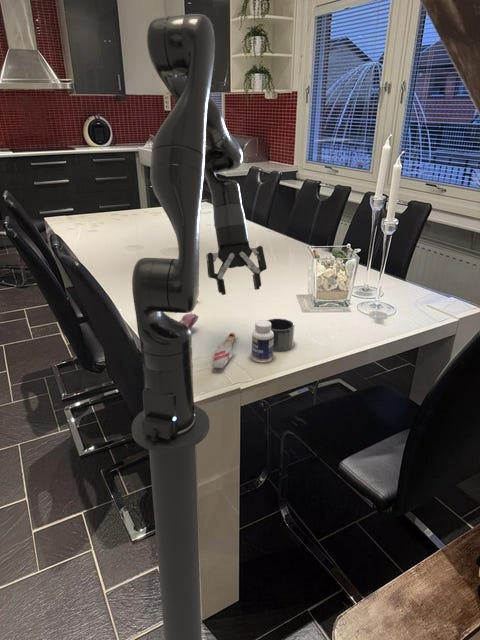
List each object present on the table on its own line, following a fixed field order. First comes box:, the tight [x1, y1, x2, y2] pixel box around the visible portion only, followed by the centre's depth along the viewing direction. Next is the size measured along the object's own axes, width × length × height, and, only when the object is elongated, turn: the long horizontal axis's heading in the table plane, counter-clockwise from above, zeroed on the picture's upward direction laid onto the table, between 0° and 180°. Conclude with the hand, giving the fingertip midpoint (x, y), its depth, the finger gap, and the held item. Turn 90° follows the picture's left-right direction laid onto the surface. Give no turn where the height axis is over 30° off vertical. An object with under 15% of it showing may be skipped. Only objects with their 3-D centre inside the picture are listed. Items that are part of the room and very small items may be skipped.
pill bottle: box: [251, 319, 274, 363], centre depth 117 cm, size 5×5×10 cm
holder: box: [266, 318, 295, 352], centre depth 125 cm, size 8×8×6 cm
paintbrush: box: [211, 332, 236, 369], centre depth 120 cm, size 4×3×20 cm
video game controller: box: [178, 311, 199, 331], centre depth 131 cm, size 10×5×7 cm, turn 159°
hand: (240, 292), depth 114 cm, fingers open, 8 cm apart
